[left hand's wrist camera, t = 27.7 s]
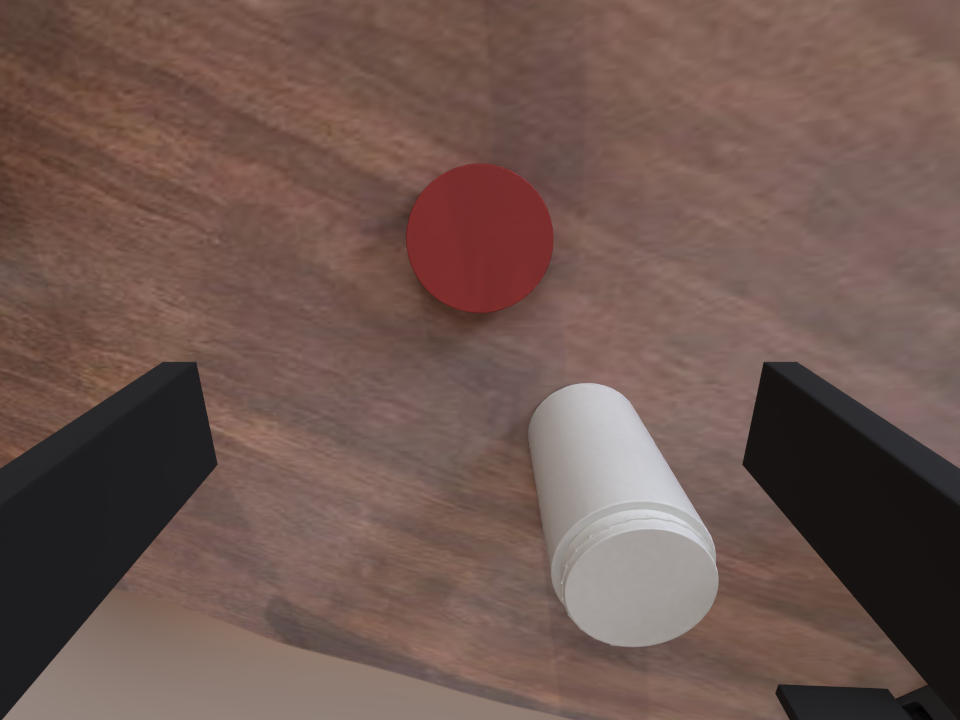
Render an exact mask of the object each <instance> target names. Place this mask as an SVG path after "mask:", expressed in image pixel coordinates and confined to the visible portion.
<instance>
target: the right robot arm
mask: <svg viewBox="0 0 960 720" xmlns="http://www.w3.org/2000/svg"><path fill="white" fill-rule="evenodd" d="M775 694H776V696H777V697H778V699H779V701H780V703H781V705H782V707H783V708H784V710H785V712H786V714H787V716H788V718H789V719H790V720H958V719H957V718H956V717H955V716H954V714H953V713H952V712H951V711H950V710H949V708H948V707H947V706H946V705H945V704H944V703H943V701H942V700H941V699H940V698H939V697H938V695H937V694H936V693H935V692H934V691H933V690H932V688H931V687H930V686H929V685H926V686H924V687H922V688H919V689H917V690H915V691H913V692H910V693H908V694H906V695H903V696H901V697H899V698H896V699H895V698H894V697H893V695H892V694H891V693H890V691H889V690H888V689H877V688H853V687H829V686H804V685H780V684H779V685H778V688H777V690H776V693H775Z"/></svg>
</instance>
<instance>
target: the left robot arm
mask: <svg viewBox="0 0 960 720" xmlns="http://www.w3.org/2000/svg"><path fill="white" fill-rule="evenodd" d="M216 466H217V460H216V455H215V450H214V445H213V440H212V436H211V431H210V426H209V421H208V416H207V412H206V407H205V402H204V397H203V392H202V388H201V383H200V378H199V373H198V368H197V363H196V362H162V363H161V364H159V365H158V366H156V367H155V368H153V369H152V370H150V371H149V372H147V373H146V374H144V375H142V376H141V377H139V378H138V379H136V380H135V381H133V382H132V383H130V384H129V385H127V386H126V387H124V388H123V389H121V390H120V391H118V392H117V393H115V394H114V395H112V396H110V397H109V398H107V399H106V400H104V401H103V402H101V403H100V404H98V405H97V406H95V407H94V408H92V409H91V410H89V411H88V412H86V413H85V414H83V415H82V416H80V417H78V418H77V419H75V420H74V421H72V422H71V423H69V424H68V425H66V426H65V427H63V428H62V429H60V430H59V431H57V432H56V433H54V434H53V435H51V436H50V437H48V438H46V439H45V440H43V441H42V442H40V443H39V444H37V445H36V446H34V447H33V448H31V449H30V450H28V451H27V452H25V453H24V454H22V455H21V456H19V457H18V458H16V459H14V460H13V461H11V462H10V463H8V464H7V465H5V466H4V467H2V468H1V469H0V720H2V719H3V718H4V717H5V716H6V714H7V713H8V712H9V711H10V710H11V708H12V707H13V706H14V705H15V704H16V702H17V701H18V700H19V699H20V698H21V697H22V695H23V694H24V693H25V692H26V691H27V689H28V688H29V687H30V686H31V685H32V684H33V682H34V681H35V680H36V679H37V678H38V676H39V675H40V674H41V673H42V672H43V671H44V669H45V668H46V667H47V666H48V665H49V663H50V662H51V661H52V660H53V659H54V658H55V656H56V655H57V654H58V653H59V652H60V650H61V649H62V648H63V647H64V646H65V645H66V643H67V642H68V641H69V640H70V639H71V637H72V636H73V635H74V634H75V633H76V631H77V630H78V629H79V628H80V627H81V626H82V624H83V623H84V622H85V621H86V620H87V619H88V617H89V616H90V615H91V614H92V613H93V611H94V610H95V609H96V608H97V607H98V605H99V604H100V603H101V602H102V601H103V600H104V598H105V597H106V596H107V595H108V594H109V592H110V591H111V590H112V589H113V588H114V587H115V585H116V584H117V583H118V582H119V581H120V579H121V578H122V577H123V576H124V575H125V574H126V572H127V571H128V570H129V569H130V568H131V566H132V565H133V564H134V563H135V562H136V561H137V559H138V558H139V557H140V556H141V555H142V553H143V552H144V551H145V550H146V549H147V548H148V546H149V545H150V544H151V543H152V542H153V540H154V539H155V538H156V537H157V536H158V535H159V533H160V532H161V531H162V530H163V529H164V527H165V526H166V525H167V524H168V523H169V521H170V520H171V519H172V518H173V517H174V516H175V514H176V513H177V512H178V511H179V510H180V508H181V507H182V506H183V505H184V504H185V503H186V501H187V500H188V499H189V498H190V497H191V495H192V494H193V493H194V492H195V491H196V490H197V488H198V487H199V486H200V485H201V484H202V482H203V481H204V480H205V479H206V478H207V477H208V475H209V474H210V473H211V472H212V471H213V469H214V468H215V467H216ZM743 466H744V467H745V468H746V469H747V471H748V472H749V473H750V474H751V475H752V477H753V478H754V479H755V480H756V481H757V482H758V484H759V485H760V486H761V487H762V488H763V490H764V491H765V492H766V493H767V494H768V495H769V497H770V498H771V499H772V500H773V501H774V503H775V504H776V505H777V506H778V507H779V508H780V510H781V511H782V512H783V513H784V514H785V516H786V517H787V518H788V519H789V520H790V521H791V523H792V524H793V525H794V526H795V527H796V529H797V530H798V531H799V532H800V533H801V535H802V536H803V537H804V538H805V539H806V540H807V542H808V543H809V544H810V545H811V546H812V548H813V549H814V550H815V551H816V552H817V553H818V555H819V556H820V557H821V558H822V559H823V561H824V562H825V563H826V564H827V565H828V566H829V568H830V569H831V570H832V571H833V572H834V574H835V575H836V576H837V577H838V578H839V579H840V581H841V582H842V583H843V584H844V585H845V587H846V588H847V589H848V590H849V591H850V592H851V594H852V595H853V596H854V597H855V598H856V600H857V601H858V602H859V603H860V604H861V606H862V607H863V608H864V609H865V610H866V611H867V613H868V614H869V615H870V616H871V617H872V619H873V620H874V621H875V622H876V623H877V624H878V626H879V627H880V628H881V629H882V630H883V632H884V633H885V634H886V635H887V636H888V637H889V639H890V640H891V641H892V642H893V643H894V645H895V646H896V647H897V648H898V649H899V650H900V652H901V653H902V654H903V655H904V656H905V658H906V659H907V660H908V661H909V662H910V663H911V665H912V666H913V667H914V668H915V669H916V671H917V672H918V673H919V674H920V675H921V677H922V678H923V679H924V680H925V681H926V682H927V684H928V685H929V686H930V687H931V688H932V690H933V691H934V692H935V693H936V694H937V695H938V697H939V698H940V699H941V700H942V701H943V703H944V704H945V705H946V706H947V707H948V708H949V710H950V711H951V712H952V713H953V714H954V716H955V717H956V718H957V719H958V720H960V469H959V468H958V467H956V466H955V465H953V464H952V463H950V462H949V461H947V460H946V459H944V458H942V457H941V456H939V455H938V454H936V453H935V452H933V451H932V450H930V449H929V448H927V447H926V446H924V445H923V444H921V443H920V442H918V441H917V440H915V439H914V438H912V437H910V436H909V435H907V434H906V433H904V432H903V431H901V430H900V429H898V428H897V427H895V426H894V425H892V424H891V423H889V422H888V421H886V420H885V419H883V418H882V417H880V416H878V415H877V414H875V413H874V412H872V411H871V410H869V409H868V408H866V407H865V406H863V405H862V404H860V403H859V402H857V401H856V400H854V399H853V398H851V397H850V396H848V395H846V394H845V393H843V392H842V391H840V390H839V389H837V388H836V387H834V386H833V385H831V384H830V383H828V382H827V381H825V380H824V379H822V378H821V377H819V376H817V375H816V374H814V373H813V372H811V371H810V370H808V369H807V368H805V367H804V366H802V365H801V364H799V363H798V362H764V363H763V368H762V373H761V378H760V383H759V388H758V392H757V397H756V402H755V407H754V412H753V416H752V421H751V426H750V431H749V436H748V440H747V445H746V450H745V455H744V460H743Z"/></svg>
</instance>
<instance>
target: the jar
mask: <svg viewBox="0 0 960 720" xmlns="http://www.w3.org/2000/svg"><path fill="white" fill-rule="evenodd" d="M528 442H529V449H530V455H531V461H532V467H533V473H534V478H535V484H536V490H537V496H538V502H539V508H540V514H541V520H542V526H543V532H544V538H545V544H546V550H547V556H548V562H549V568H550V574H551V580H552V584H553V587H554V590H555V592H556V594H557V596H558V598H559V600H560V601H561V602H562V604H563V605H564V606H565V608H566V611H567V613H568V616H569V617H570V618H571V619H572V620H573V621H574V622H575V624H576V625H577V626H578V628H579V629H581V630H582V631H584V632H585V633H587V634H588V635H590V636H591V637H593V639H596V640H599V641H602V642H605V643H608V644H610V645H611V646H622V647H643V646H651V645H655V644H660V643H663V642H666V641H669V640H671V639H674V638H676V637H678V636H680V635H682V634H684V633H685V632H687V631H688V630H690V629H691V628H693V627H694V626H695V625H696V624H697V623H698V622H700V621H701V619H702V618H703V617H704V616H705V615H706V614H707V612H708V611H709V609H710V608H711V606H712V604H713V602H714V600H715V597H716V594H717V590H718V572H717V568H716V565H715V564H716V552H715V547H714V543H713V540H712V538H711V536H710V534H709V532H708V530H707V529H706V527H705V525H704V524H703V522H702V520H701V519H700V517H699V515H698V514H697V512H696V510H695V509H694V507H693V506H692V504H691V502H690V501H689V499H688V497H687V496H686V494H685V492H684V491H683V489H682V487H681V486H680V484H679V482H678V481H677V479H676V477H675V476H674V474H673V472H672V471H671V469H670V467H669V466H668V464H667V463H666V461H665V459H664V458H663V456H662V454H661V453H660V451H659V449H658V448H657V446H656V444H655V443H654V441H653V439H652V438H651V436H650V434H649V433H648V431H647V429H646V428H645V426H644V424H643V423H642V421H641V420H640V418H639V416H638V415H637V413H636V411H635V410H634V408H633V406H632V405H631V403H630V402H629V401H628V400H627V399H626V398H625V397H624V396H623V395H622V394H620V393H619V392H617V391H616V390H614V389H612V388H609V387H607V386H604V385H599V384H592V383H581V384H574V385H571V386H567V387H564V388H562V389H560V390H558V391H556V392H554V393H553V394H551V395H550V396H548V397H547V398H546V399H545V400H544V401H543V402H542V403H541V404H540V405H539V406H538V407H537V409H536V411H535V412H534V414H533V416H532V418H531V421H530V424H529V429H528Z"/></svg>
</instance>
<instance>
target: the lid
mask: <svg viewBox="0 0 960 720" xmlns="http://www.w3.org/2000/svg"><path fill="white" fill-rule="evenodd" d="M406 241H407V251H408V256H409V260H410V263H411V266H412V268H413V270H414V272H415V274H416V276H417V278H418V279H419V281H420V282H421V284H422V285H423V286H424V287H425V289H426V290H427V291H428V292H430V293H431V294H432V295H433V296H434V297H435V298H437V299H438V300H439V301H441V302H443V303H444V304H446V305H448V306H450V307H453V308H455V309H458V310H462V311H466V312H473V313H486V312H494V311H498V310H502V309H504V308H507V307H509V306H512V305H513V304H515V303H517V302H519V301H520V300H522V299H523V298H524V297H526V296H527V295H528V294H529V293H530V292H531V291H532V290H533V289H534V288H535V287H536V286H537V284H538V283H539V282H540V280H541V279H542V277H543V275H544V274H545V271H546V269H547V267H548V265H549V262H550V259H551V254H552V249H553V228H552V223H551V218H550V215H549V212H548V209H547V207H546V205H545V203H544V201H543V200H542V198H541V197H540V195H539V194H538V192H537V191H536V190H535V189H534V188H533V187H532V185H531V184H529V183H528V182H527V181H526V180H525V179H524V178H522V177H521V176H519V175H517V174H516V173H514V172H512V171H510V170H508V169H506V168H503V167H500V166H496V165H491V164H468V165H464V166H460V167H456V168H454V169H452V170H449V171H447V172H446V173H444V174H442V175H441V176H439V177H437V178H436V179H435V180H434V181H433V182H431V183H430V184H429V185H428V186H427V187H426V188H425V189H424V191H423V192H422V193H421V195H420V196H419V197H418V199H417V201H416V203H415V205H414V206H413V209H412V211H411V214H410V217H409V221H408V225H407V235H406Z"/></svg>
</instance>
